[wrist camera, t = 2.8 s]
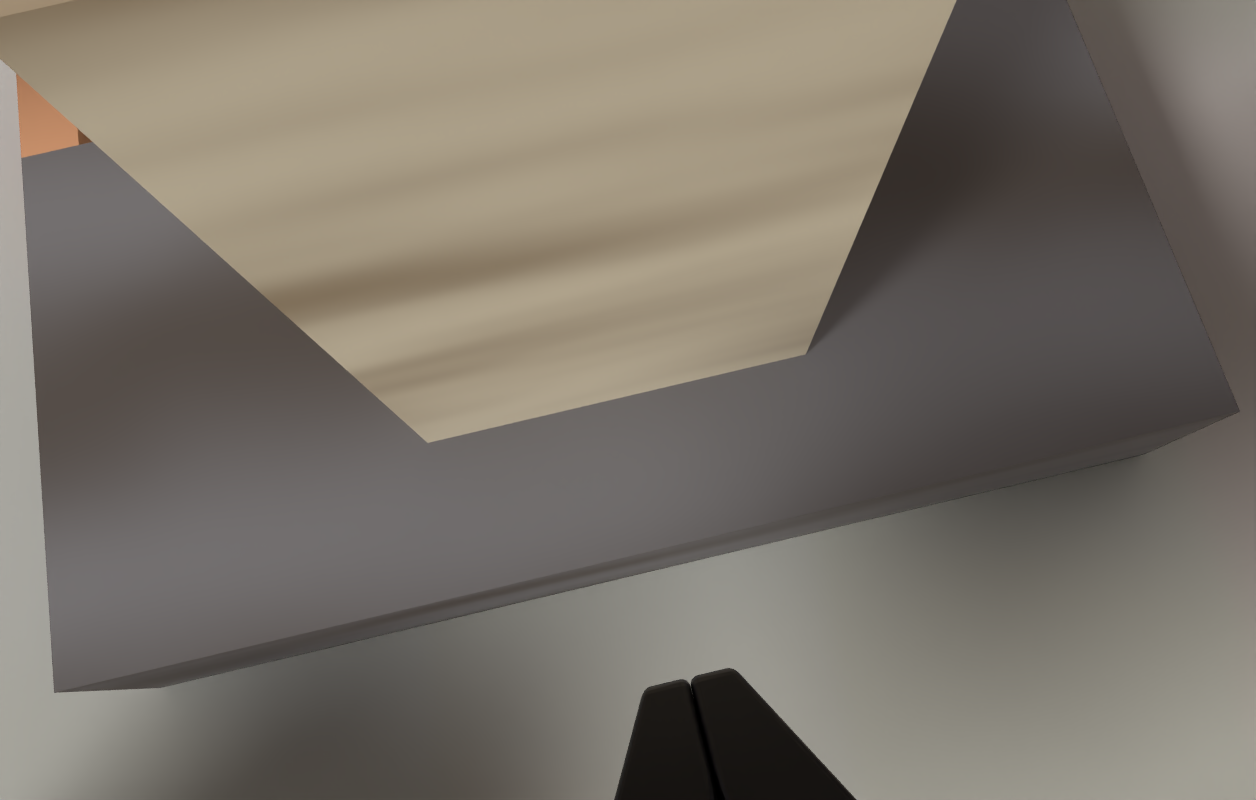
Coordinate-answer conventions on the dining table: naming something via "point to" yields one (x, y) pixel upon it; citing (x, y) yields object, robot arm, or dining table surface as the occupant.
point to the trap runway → (599, 433)
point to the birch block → (504, 173)
